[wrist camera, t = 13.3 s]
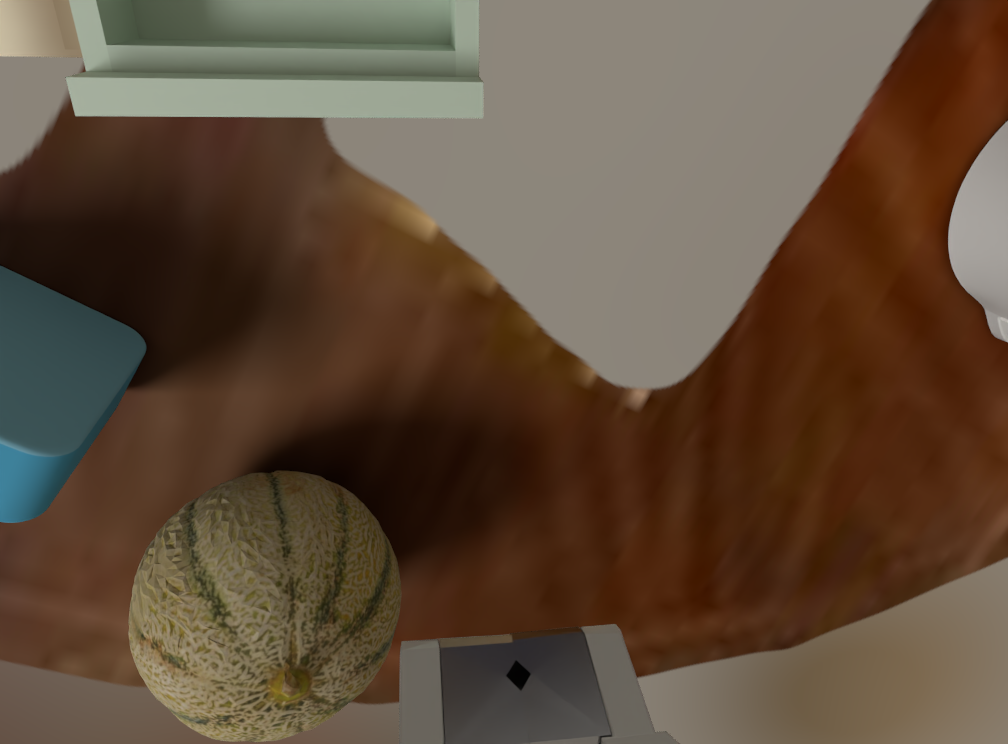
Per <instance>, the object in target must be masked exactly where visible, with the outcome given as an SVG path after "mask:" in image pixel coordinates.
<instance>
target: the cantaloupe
mask: <svg viewBox="0 0 1008 744" xmlns="http://www.w3.org/2000/svg"><path fill="white" fill-rule="evenodd" d="M400 602H401V582H400V576H399V567H398V563H397V559H396V556H395V554H394V552H393V549H392V547H391V544H390V542H389V540H388V538H387V537H386V535H385V534H384V532H383V531H382V529H381V527H380V524H379V522H378V520H377V519H376V518H375V517H374V516H373V515H372V513H371V512H370V511H369V509H368V508H367V507H366V506H365V505H364V504H363V503H362V502H361V501H360V500H359V499H358V498H357V497H356V496H355V495H354V494H352V493H351V492H349V491H348V490H347V489H345V488H343V487H341V486H340V485H338V484H335V483H333V482H330V481H328V480H326V479H324V478H322V477H321V476H318V475H313V474H308V473H303V472H296V471H275V472H272V473H250V474H247V475H244V476H241V477H238V478H235V479H232V480H230V481H227V482H224V483H221V484H220V485H218V486H216V487H214V488H212V489H210V490H208V491H207V492H206V493H204V494H203V495H201V496H200V497H199V498H196V499H194V500H192V501H191V502H189V503H187V504H186V505H185V506H184V507H183V508H182V509H181V510H180V511H178V512H177V513H176V514H174V515H173V516H171V517H170V518H169V519H168V521H167V522H166V524H165V525H164V526H163V527H162V528H161V529H160V531H159V532H158V533H157V535H156V537H155V539H154V540H153V541H152V542H151V543H150V545H149V546H148V548H147V549H146V551H145V554H144V556H143V558H142V560H141V562H140V565H139V567H138V570H137V574H136V576H135V582H134V585H133V589H132V598H131V603H130V613H129V622H128V624H129V633H128V634H129V640H130V648H131V652H132V655H133V658H134V662H135V664H136V666H137V668H138V671H139V673H140V675H141V677H142V678H143V680H144V681H145V683H146V685H147V687H148V688H149V689H150V691H151V692H152V693H153V694H154V696H155V697H156V699H157V700H159V701H160V702H161V703H163V704H164V705H165V706H167V708H168V709H169V710H170V711H171V712H172V713H173V714H174V715H175V716H176V717H177V718H178V719H179V720H180V721H181V722H183V723H184V724H185V725H187V726H188V727H189V728H191V729H193V730H195V731H197V732H199V733H200V734H202V735H205V736H208V737H210V738H212V739H217V740H222V741H232V742H236V741H251V742H262V741H275V740H279V739H283V738H285V737H289V736H293V735H295V734H297V733H299V732H302V731H306V730H310V729H313V728H315V727H316V726H318V725H319V724H321V723H322V722H324V721H326V720H327V719H329V718H331V717H332V716H333V715H334V714H335V713H337V712H338V711H339V710H341V709H342V708H343V707H344V706H345V705H347V704H348V703H349V702H350V701H352V700H353V699H354V698H355V697H356V696H358V695H359V694H360V693H361V692H363V691H364V690H365V689H366V687H367V686H368V685H369V684H370V682H371V681H372V680H373V679H374V677H375V675H376V673H377V672H378V671H379V670H380V668H381V665H382V664H383V663H384V661H385V659H386V657H387V654H388V652H389V650H390V648H391V643H392V639H393V635H394V632H395V628H396V625H397V621H398V617H399V610H400Z"/></svg>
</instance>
